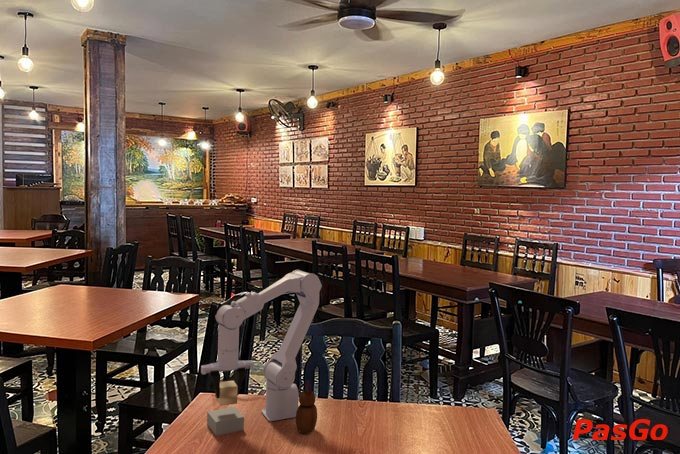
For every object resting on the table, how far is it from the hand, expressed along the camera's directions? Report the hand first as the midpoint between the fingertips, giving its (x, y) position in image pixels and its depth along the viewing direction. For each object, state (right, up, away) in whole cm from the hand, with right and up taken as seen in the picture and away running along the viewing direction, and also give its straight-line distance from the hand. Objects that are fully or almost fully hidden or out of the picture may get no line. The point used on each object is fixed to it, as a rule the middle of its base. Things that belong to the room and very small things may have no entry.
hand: (227, 395), depth 145 cm
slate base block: (-1, -9, 0) cm, 9 cm away
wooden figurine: (+22, -10, -1) cm, 25 cm away
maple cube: (0, -2, 0) cm, 2 cm away
